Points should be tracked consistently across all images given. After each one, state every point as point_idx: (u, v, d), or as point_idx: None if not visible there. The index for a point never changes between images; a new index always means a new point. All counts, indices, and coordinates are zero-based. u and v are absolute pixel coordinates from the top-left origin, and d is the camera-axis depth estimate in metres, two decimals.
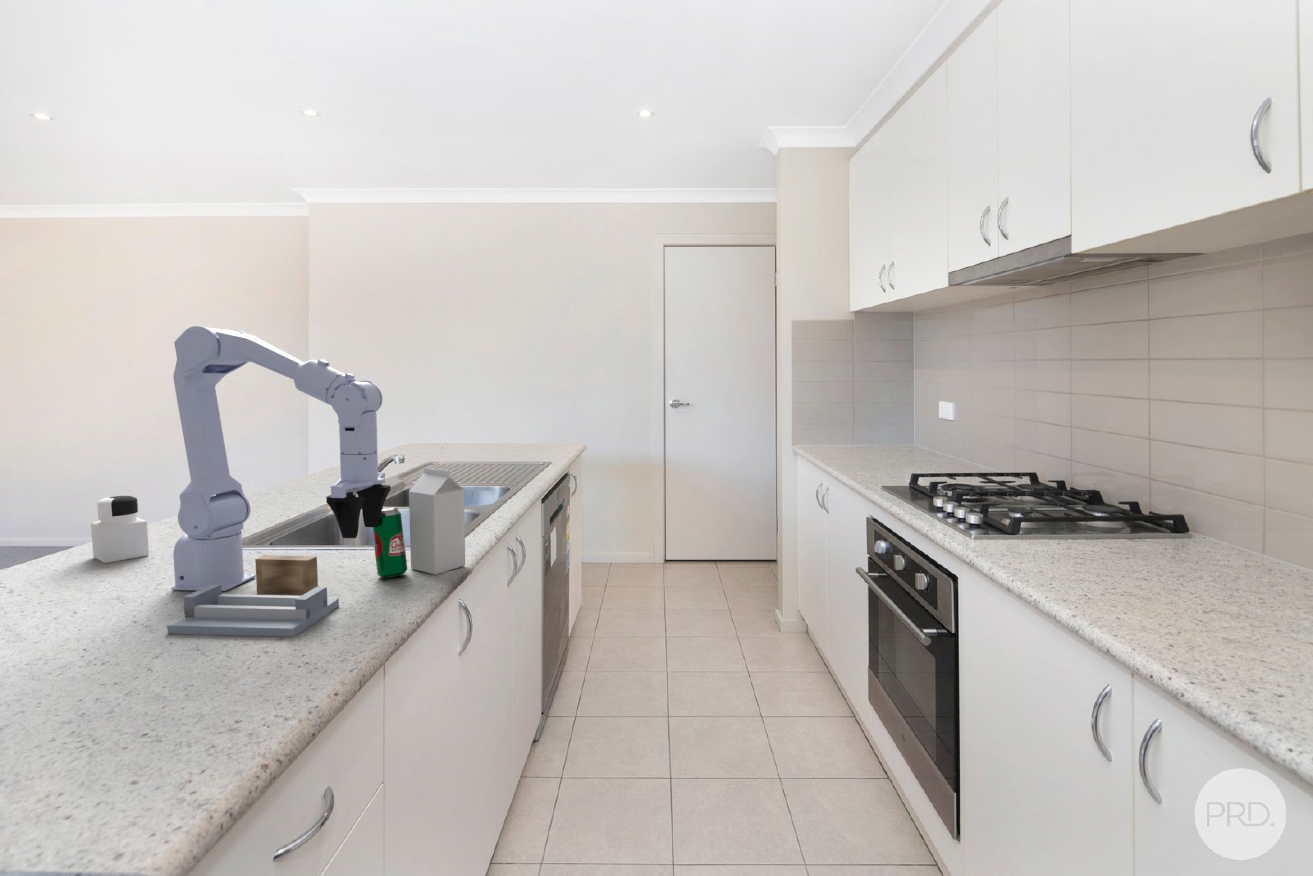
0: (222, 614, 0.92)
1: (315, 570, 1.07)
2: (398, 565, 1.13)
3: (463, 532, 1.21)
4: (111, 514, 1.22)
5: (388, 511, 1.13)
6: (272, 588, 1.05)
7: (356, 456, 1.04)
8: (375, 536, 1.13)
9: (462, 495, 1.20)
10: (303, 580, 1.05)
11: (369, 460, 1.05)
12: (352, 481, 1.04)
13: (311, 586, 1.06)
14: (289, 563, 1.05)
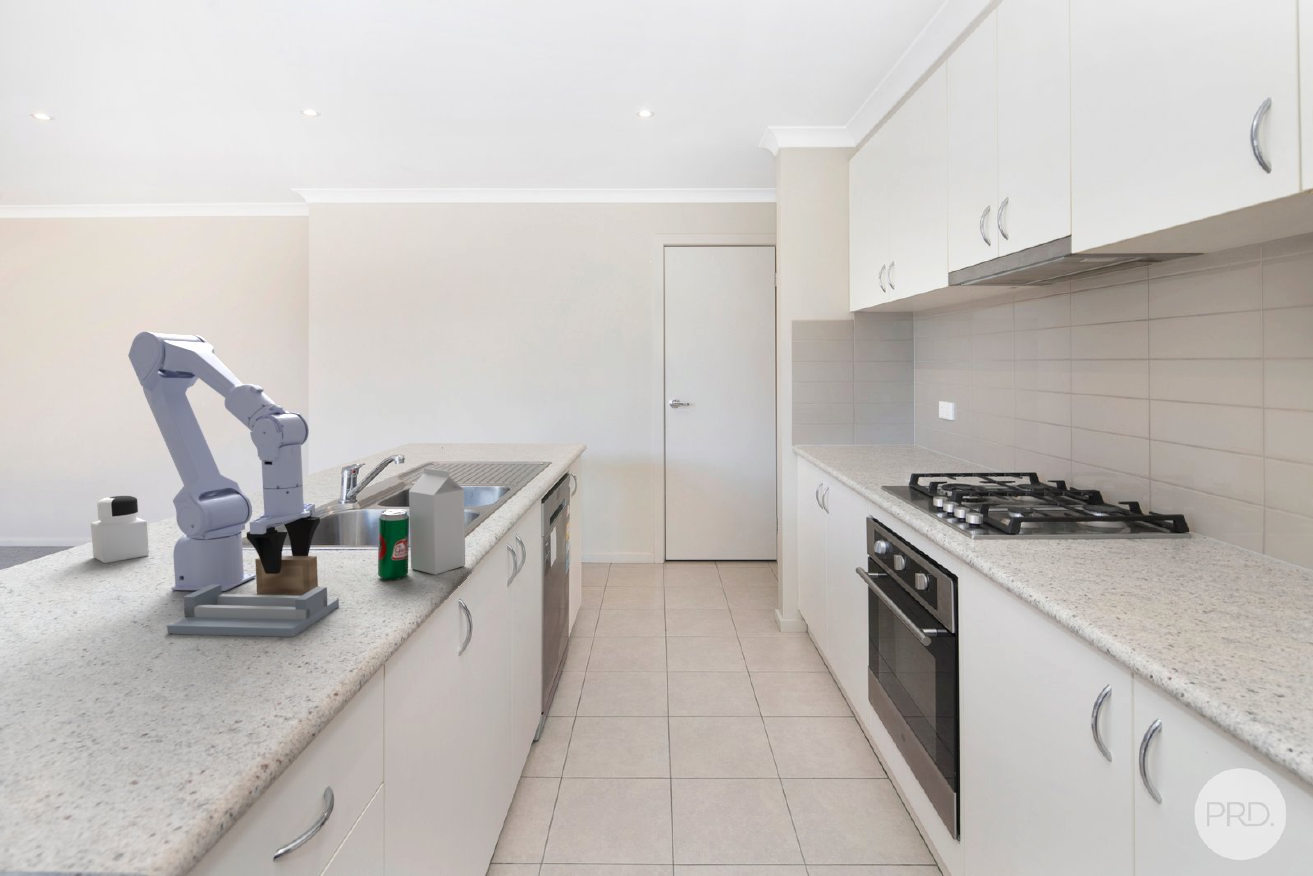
0: (222, 614, 0.92)
1: (315, 570, 1.07)
2: (399, 570, 1.13)
3: (463, 532, 1.21)
4: (111, 514, 1.22)
5: (396, 515, 1.12)
6: (272, 588, 1.05)
7: (278, 490, 1.02)
8: (380, 538, 1.12)
9: (462, 495, 1.20)
10: (303, 580, 1.05)
11: (292, 494, 1.03)
12: (274, 515, 1.02)
13: (311, 586, 1.06)
14: (289, 563, 1.05)
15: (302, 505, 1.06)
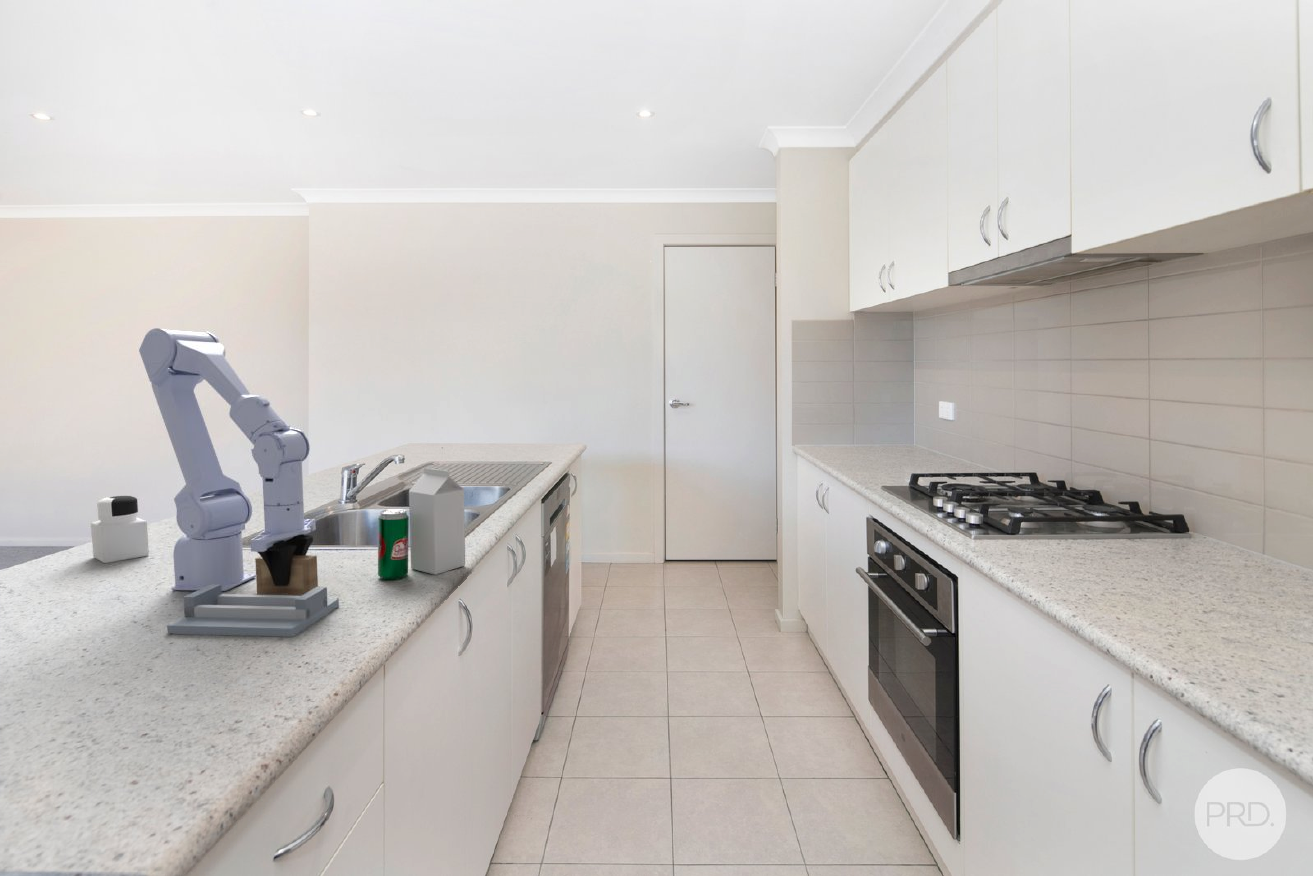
0: (222, 614, 0.92)
1: (315, 569, 1.07)
2: (399, 569, 1.13)
3: (463, 532, 1.21)
4: (111, 514, 1.22)
5: (396, 515, 1.12)
6: (272, 588, 1.05)
7: (279, 507, 1.02)
8: (380, 537, 1.12)
9: (462, 495, 1.20)
10: (303, 580, 1.05)
11: (293, 511, 1.04)
12: (275, 532, 1.03)
13: (311, 585, 1.06)
14: None
15: (303, 521, 1.06)
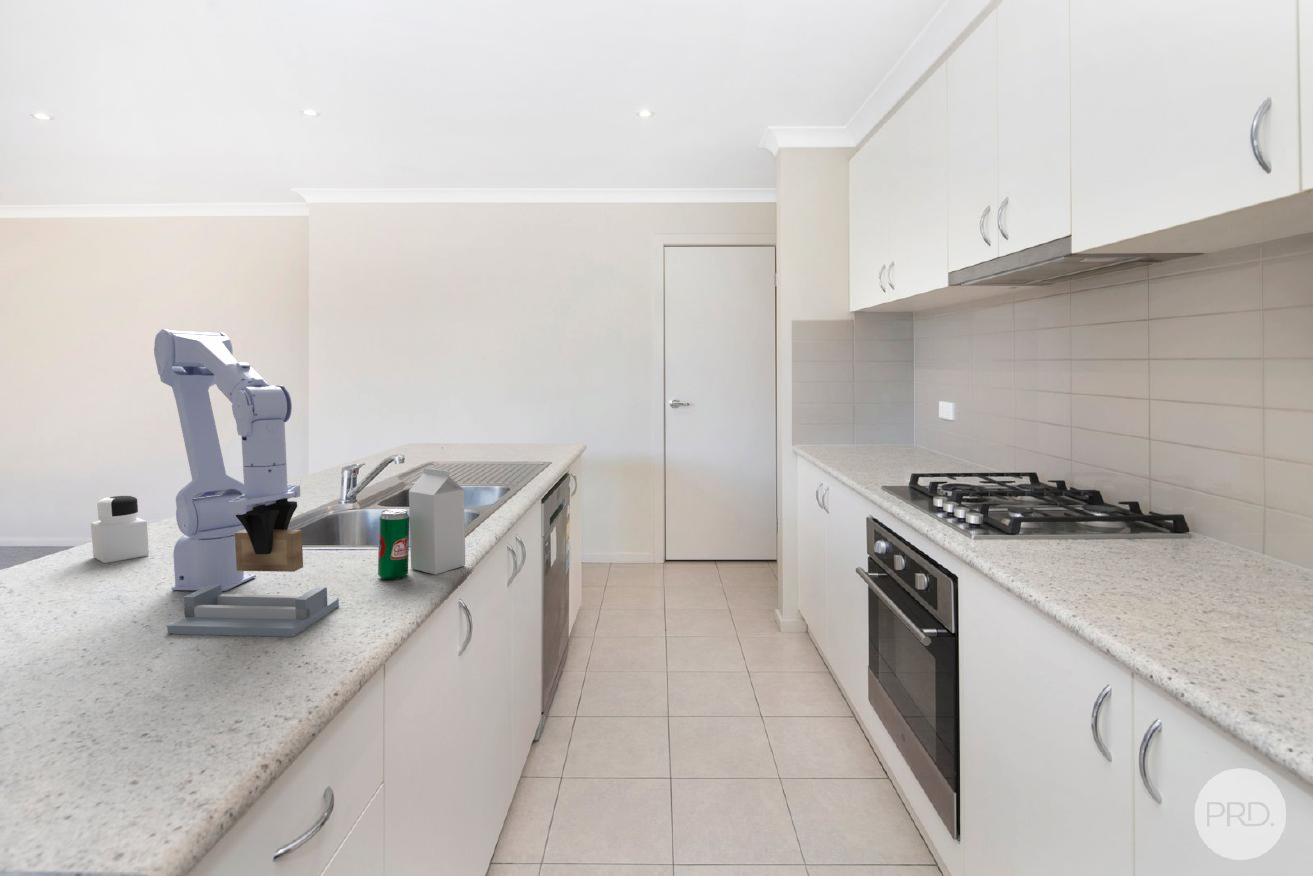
0: (222, 614, 0.92)
1: (300, 545, 0.99)
2: (398, 570, 1.13)
3: (463, 532, 1.21)
4: (111, 514, 1.22)
5: (396, 515, 1.12)
6: (254, 564, 0.98)
7: (259, 468, 0.95)
8: (380, 537, 1.12)
9: (462, 495, 1.20)
10: (287, 555, 0.97)
11: (275, 472, 0.96)
12: (256, 495, 0.95)
13: (296, 561, 0.98)
14: None
15: (286, 485, 0.98)
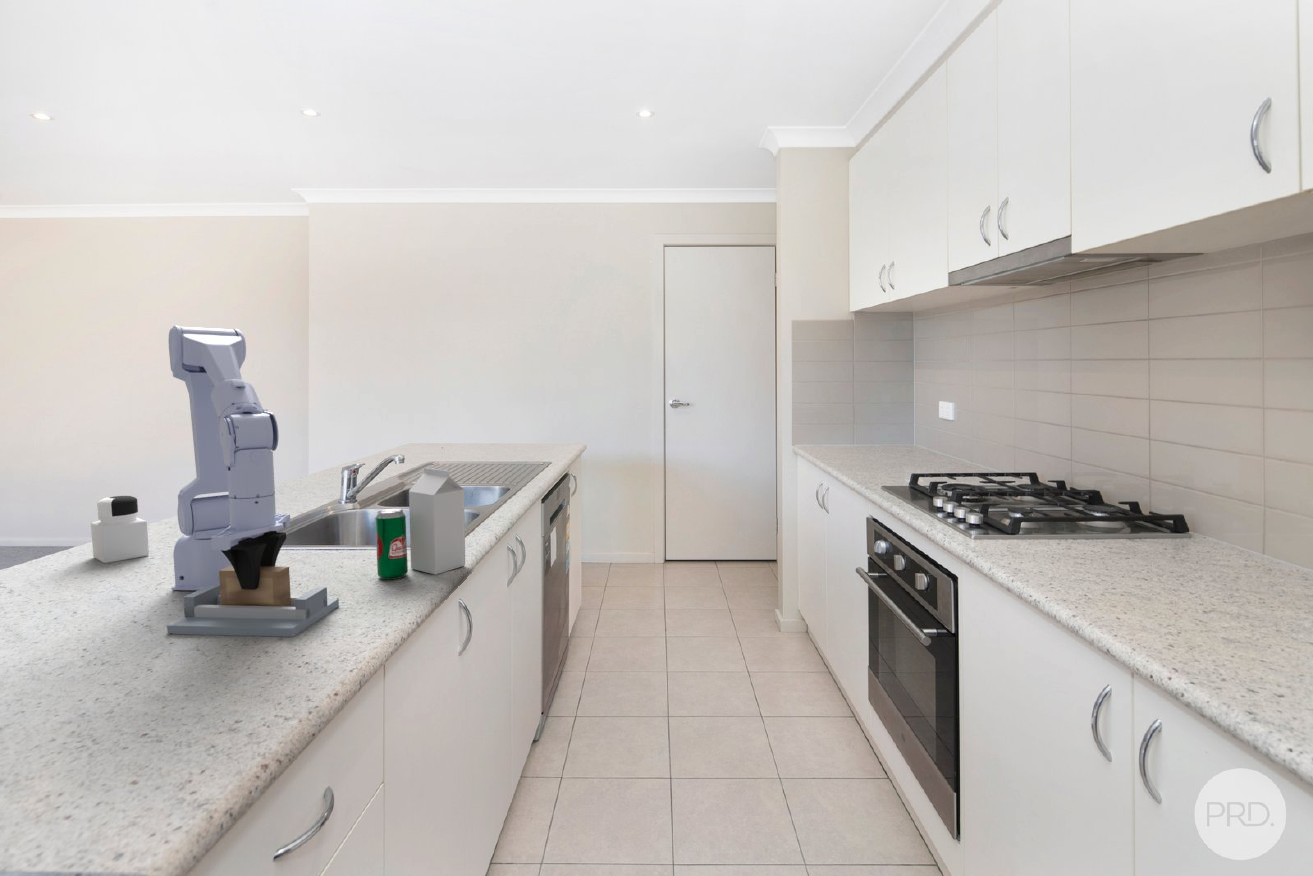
0: (222, 614, 0.92)
1: (287, 582, 0.94)
2: (397, 568, 1.13)
3: (463, 532, 1.21)
4: (111, 514, 1.22)
5: (391, 513, 1.12)
6: (239, 604, 0.93)
7: (246, 500, 0.90)
8: (377, 536, 1.13)
9: (462, 495, 1.20)
10: (274, 594, 0.93)
11: (262, 504, 0.91)
12: (241, 529, 0.90)
13: (283, 600, 0.93)
14: None
15: (274, 516, 0.94)
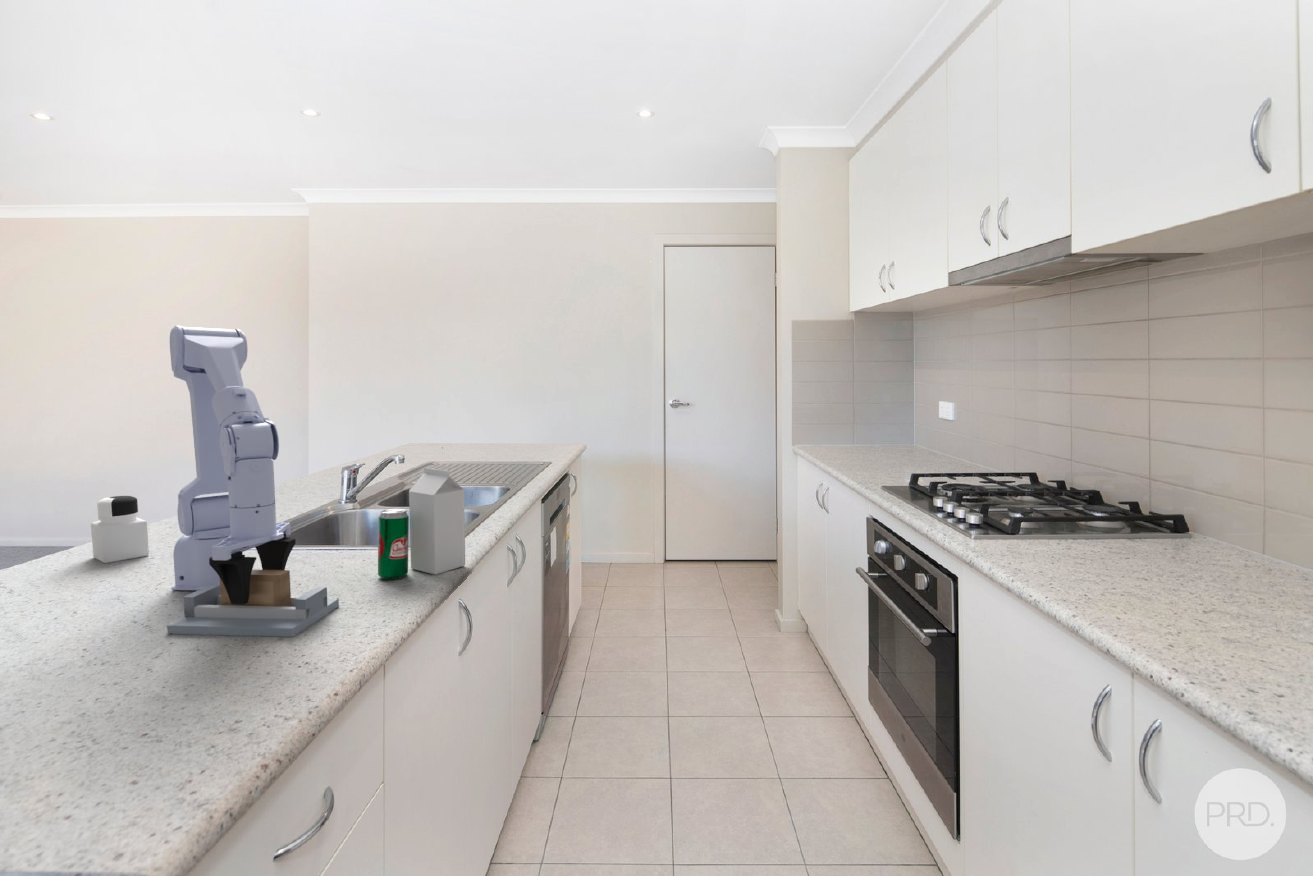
0: (222, 614, 0.92)
1: (288, 586, 0.95)
2: (397, 569, 1.13)
3: (463, 532, 1.21)
4: (111, 514, 1.22)
5: (394, 514, 1.12)
6: None
7: (246, 509, 0.90)
8: (379, 536, 1.13)
9: (462, 495, 1.20)
10: (274, 598, 0.93)
11: (263, 513, 0.91)
12: (242, 538, 0.90)
13: (283, 604, 0.93)
14: (258, 578, 0.93)
15: (274, 526, 0.94)
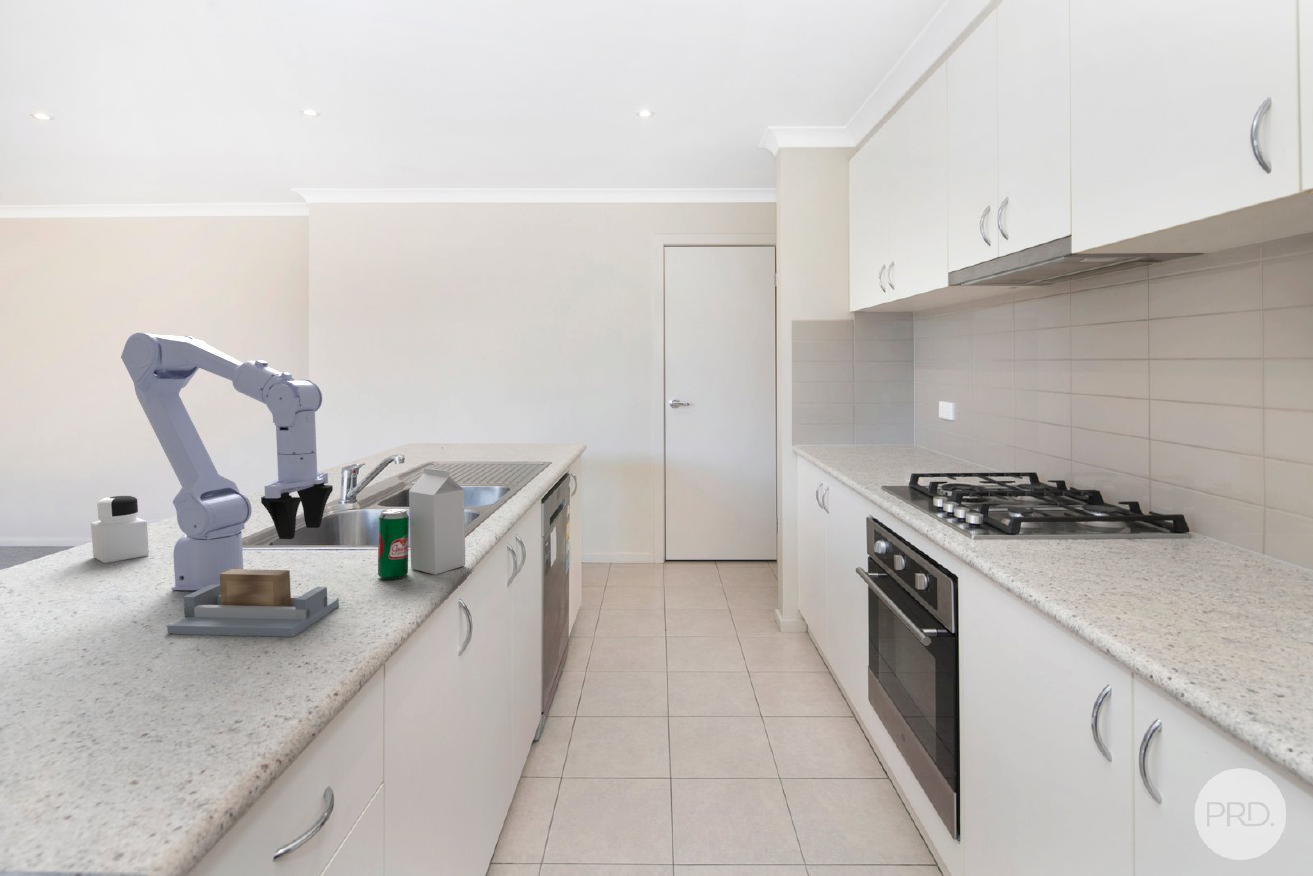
0: (222, 614, 0.92)
1: (288, 586, 0.95)
2: (397, 569, 1.13)
3: (463, 532, 1.21)
4: (111, 514, 1.22)
5: (394, 514, 1.12)
6: None
7: (292, 456, 1.03)
8: (379, 536, 1.13)
9: (462, 495, 1.20)
10: (274, 598, 0.93)
11: (306, 460, 1.04)
12: (289, 481, 1.03)
13: (283, 604, 0.93)
14: (258, 578, 0.93)
15: (316, 472, 1.06)
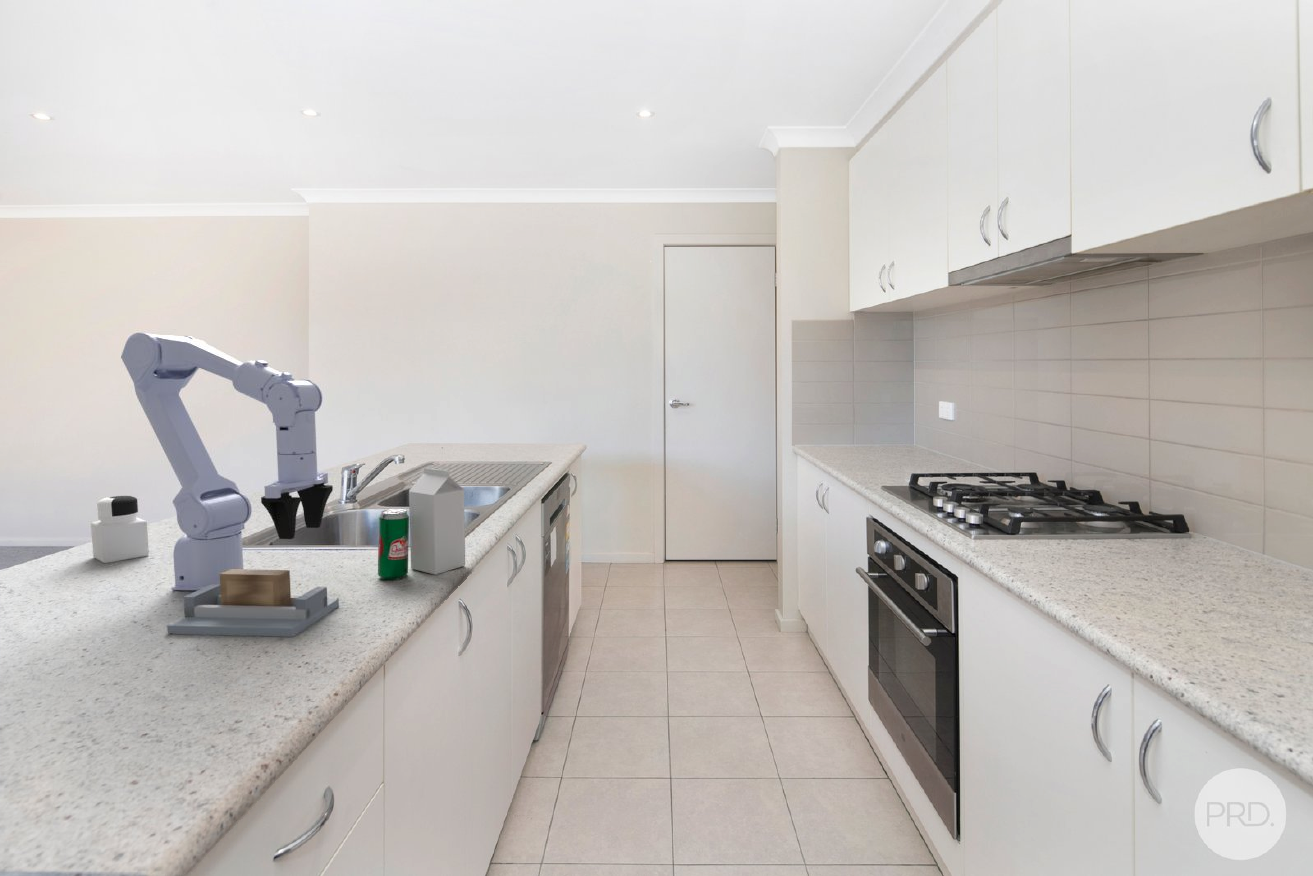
0: (222, 614, 0.92)
1: (288, 586, 0.95)
2: (396, 570, 1.13)
3: (463, 532, 1.21)
4: (111, 514, 1.22)
5: (393, 514, 1.12)
6: None
7: (292, 456, 1.03)
8: (379, 536, 1.13)
9: (462, 495, 1.20)
10: (274, 598, 0.93)
11: (306, 460, 1.04)
12: (289, 481, 1.03)
13: (283, 604, 0.93)
14: (258, 578, 0.93)
15: (316, 472, 1.06)
